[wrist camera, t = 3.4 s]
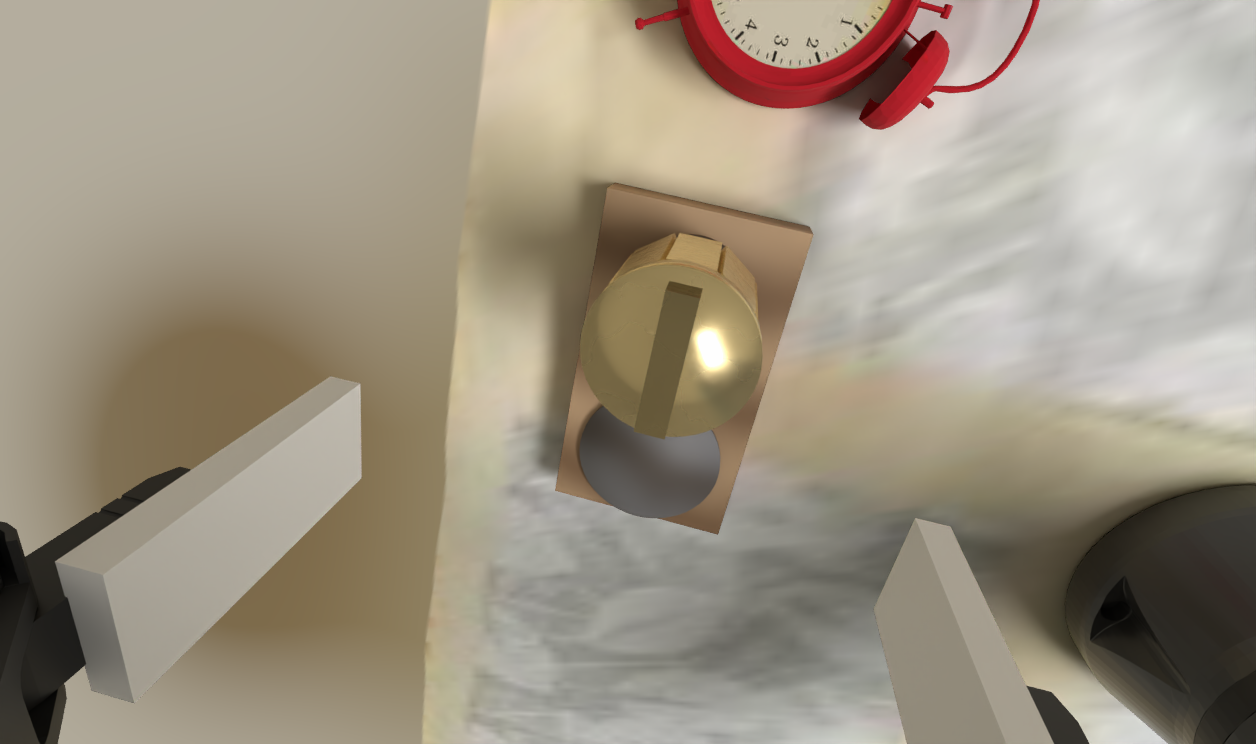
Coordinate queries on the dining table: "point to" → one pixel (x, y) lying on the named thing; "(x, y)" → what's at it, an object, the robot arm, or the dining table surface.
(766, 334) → the post plinth
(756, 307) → the cap
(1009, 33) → the dining table surface
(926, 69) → the alarm clock
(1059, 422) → the dining table surface
